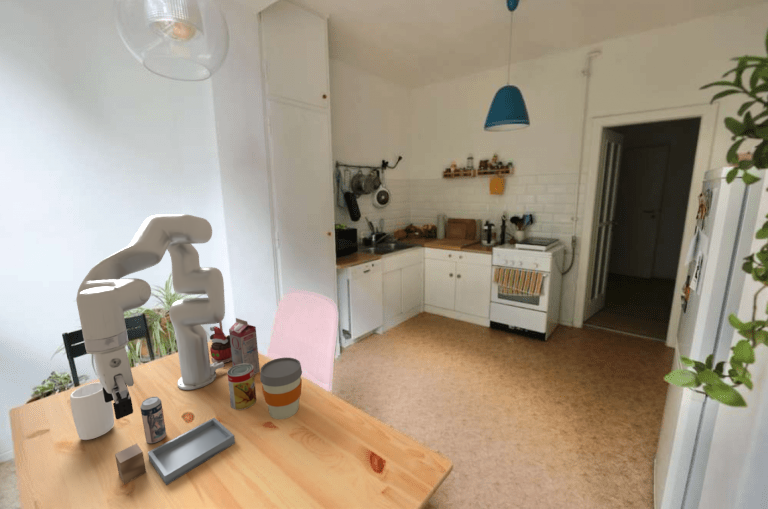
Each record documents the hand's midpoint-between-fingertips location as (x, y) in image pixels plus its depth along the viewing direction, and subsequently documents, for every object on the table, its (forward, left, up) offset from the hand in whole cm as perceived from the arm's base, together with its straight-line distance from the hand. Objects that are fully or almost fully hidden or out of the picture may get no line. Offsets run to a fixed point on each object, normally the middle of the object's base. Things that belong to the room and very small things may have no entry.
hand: (118, 407), depth 79 cm
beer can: (-8, -9, -19) cm, 22 cm away
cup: (+2, -25, -19) cm, 31 cm away
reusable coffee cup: (-38, +9, -19) cm, 44 cm away
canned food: (-32, -5, -19) cm, 38 cm away
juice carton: (-42, -21, -19) cm, 51 cm away
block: (0, 0, -19) cm, 19 cm away
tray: (-13, +5, -19) cm, 23 cm away
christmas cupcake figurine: (-42, -39, -19) cm, 60 cm away
